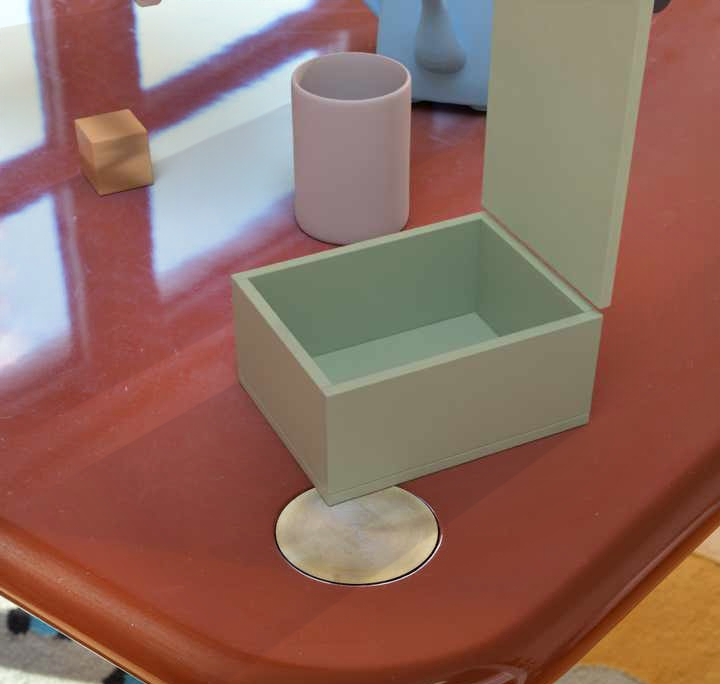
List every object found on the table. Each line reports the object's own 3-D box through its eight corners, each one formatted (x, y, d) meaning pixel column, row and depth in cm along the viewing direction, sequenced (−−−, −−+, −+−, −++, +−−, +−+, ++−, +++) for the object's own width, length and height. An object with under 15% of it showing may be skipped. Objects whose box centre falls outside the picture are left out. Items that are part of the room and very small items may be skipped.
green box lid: (644, -17, 65) (728, -34, 67) (500, -101, 74) (577, -114, 76) (599, 310, 78) (671, 289, 79) (480, 204, 87) (547, 188, 88)
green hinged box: (328, 506, 78) (326, 396, 72) (238, 380, 87) (229, 274, 81) (589, 423, 83) (604, 315, 78) (478, 313, 92) (485, 209, 87)
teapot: (332, 64, 122) (329, -94, 113) (494, 34, 127) (504, -120, 118) (419, 150, 110) (423, -19, 101) (594, 113, 115) (614, -51, 106)
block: (99, 196, 104) (91, 143, 101) (82, 172, 107) (74, 119, 104) (153, 184, 106) (147, 131, 103) (135, 160, 109) (128, 108, 106)
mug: (425, 235, 100) (430, 92, 92) (314, 255, 98) (310, 110, 90) (372, 163, 108) (373, 26, 101) (269, 179, 106) (262, 41, 99)
